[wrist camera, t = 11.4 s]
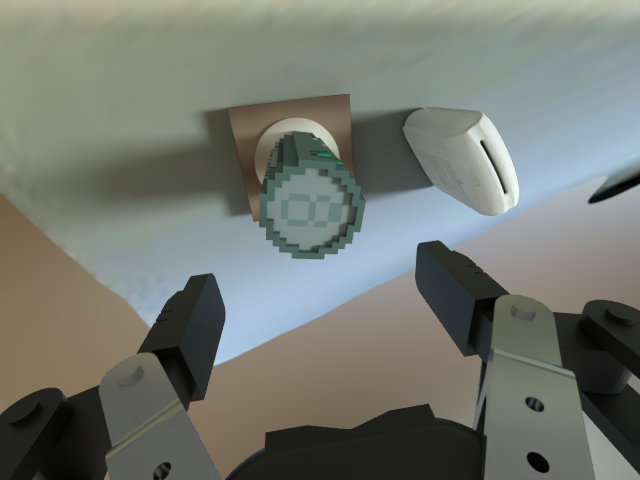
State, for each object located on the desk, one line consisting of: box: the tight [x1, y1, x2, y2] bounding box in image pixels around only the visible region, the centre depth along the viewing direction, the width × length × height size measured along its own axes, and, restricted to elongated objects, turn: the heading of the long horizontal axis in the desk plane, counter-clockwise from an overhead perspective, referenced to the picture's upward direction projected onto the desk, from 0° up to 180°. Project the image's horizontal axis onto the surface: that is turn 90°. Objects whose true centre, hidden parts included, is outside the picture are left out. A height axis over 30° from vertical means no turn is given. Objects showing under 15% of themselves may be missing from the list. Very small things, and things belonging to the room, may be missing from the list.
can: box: [259, 131, 366, 259], centre depth 23 cm, size 6×6×15 cm
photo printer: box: [403, 107, 519, 216], centre depth 29 cm, size 10×4×12 cm, turn 38°
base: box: [227, 94, 354, 222], centre depth 31 cm, size 12×12×4 cm
